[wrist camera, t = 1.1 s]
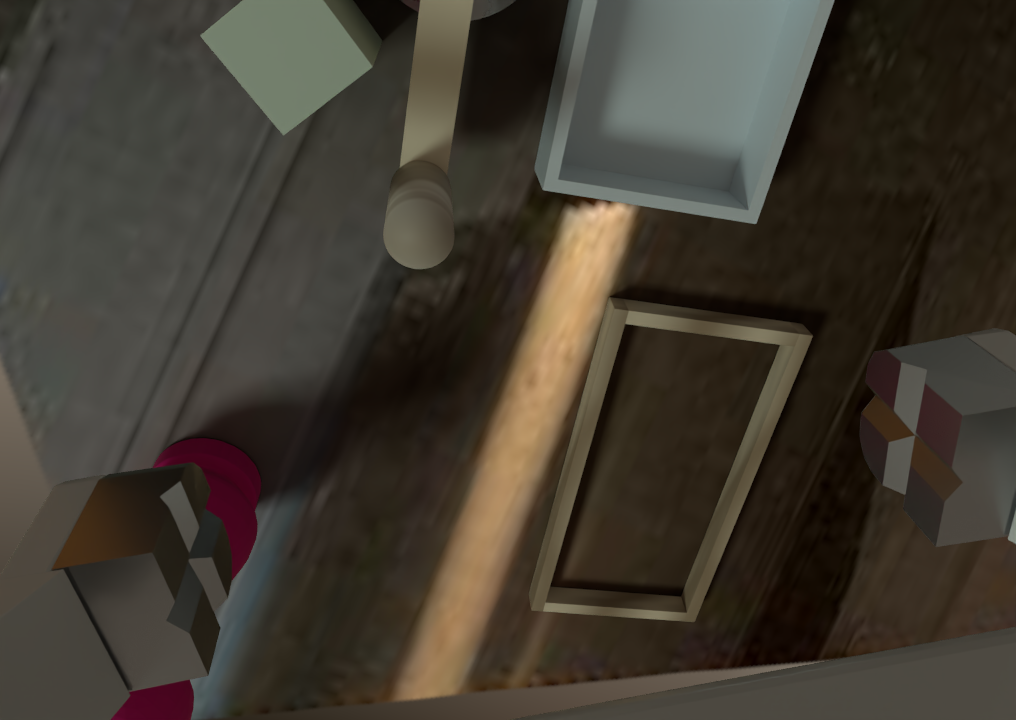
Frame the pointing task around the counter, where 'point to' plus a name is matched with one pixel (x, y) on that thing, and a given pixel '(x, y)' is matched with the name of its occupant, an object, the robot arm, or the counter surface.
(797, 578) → the counter surface
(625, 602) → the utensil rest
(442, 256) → the crank
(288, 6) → the block
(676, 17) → the tray
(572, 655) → the counter surface
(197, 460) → the pepper mill
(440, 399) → the counter surface
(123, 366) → the counter surface
